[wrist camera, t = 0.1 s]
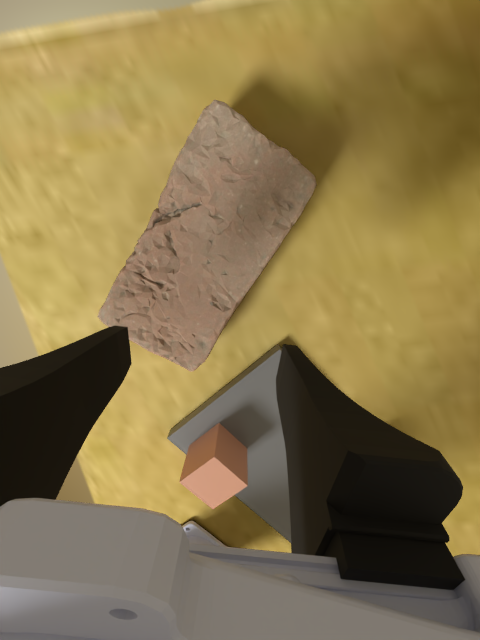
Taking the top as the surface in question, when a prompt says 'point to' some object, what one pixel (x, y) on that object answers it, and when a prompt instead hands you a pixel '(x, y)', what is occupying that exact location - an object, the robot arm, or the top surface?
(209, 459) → the terracotta block
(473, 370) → the top surface
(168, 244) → the brick
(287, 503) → the plate
